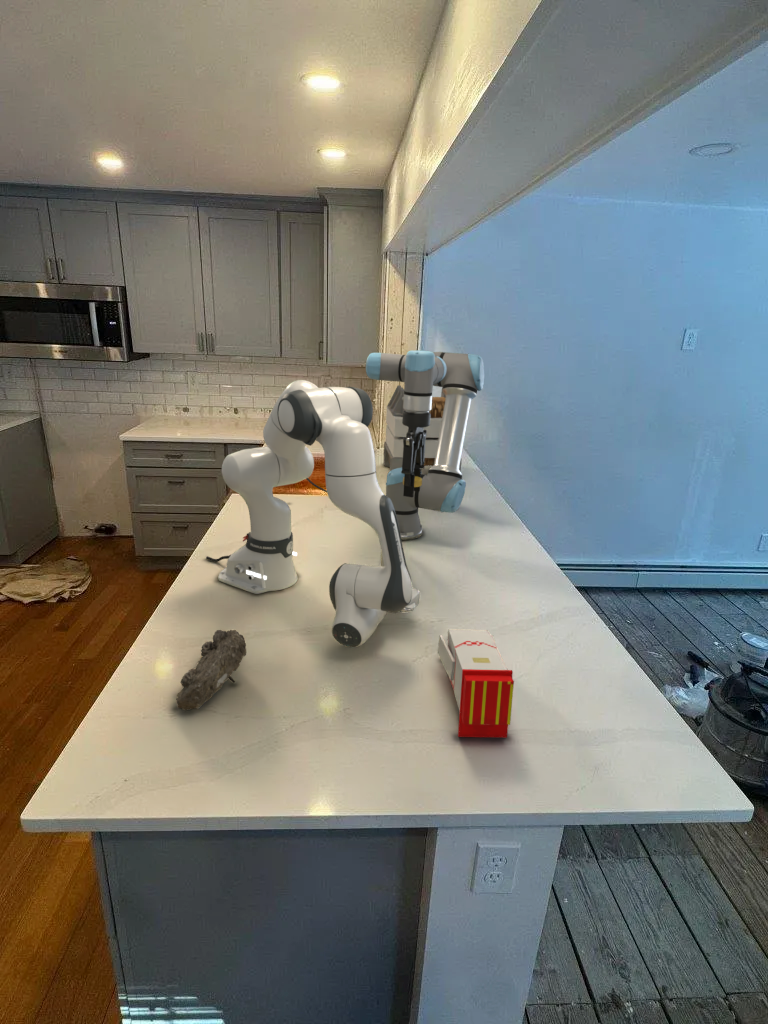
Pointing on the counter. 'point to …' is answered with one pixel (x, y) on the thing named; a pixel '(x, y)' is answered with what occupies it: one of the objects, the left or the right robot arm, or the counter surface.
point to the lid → (416, 481)
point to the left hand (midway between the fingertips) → (389, 580)
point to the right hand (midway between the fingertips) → (411, 493)
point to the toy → (478, 682)
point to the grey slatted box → (399, 431)
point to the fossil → (212, 669)
